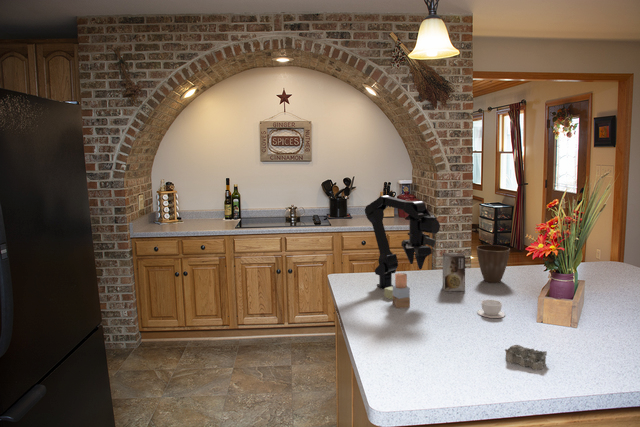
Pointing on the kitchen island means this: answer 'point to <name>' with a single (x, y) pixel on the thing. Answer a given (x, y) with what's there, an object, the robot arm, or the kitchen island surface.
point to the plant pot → (492, 261)
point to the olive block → (388, 292)
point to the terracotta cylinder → (400, 280)
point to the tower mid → (401, 292)
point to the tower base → (401, 302)
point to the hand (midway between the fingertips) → (415, 266)
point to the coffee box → (453, 272)
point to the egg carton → (519, 352)
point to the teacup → (491, 309)
